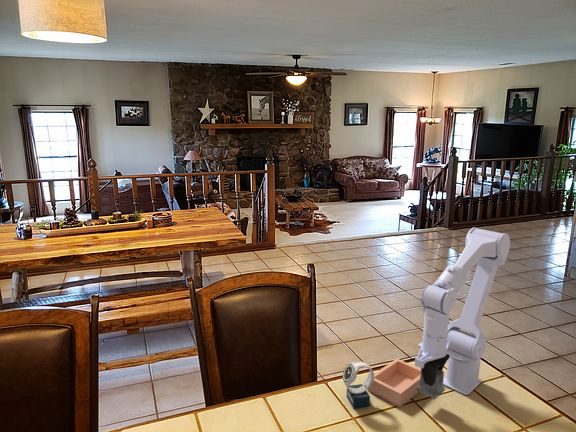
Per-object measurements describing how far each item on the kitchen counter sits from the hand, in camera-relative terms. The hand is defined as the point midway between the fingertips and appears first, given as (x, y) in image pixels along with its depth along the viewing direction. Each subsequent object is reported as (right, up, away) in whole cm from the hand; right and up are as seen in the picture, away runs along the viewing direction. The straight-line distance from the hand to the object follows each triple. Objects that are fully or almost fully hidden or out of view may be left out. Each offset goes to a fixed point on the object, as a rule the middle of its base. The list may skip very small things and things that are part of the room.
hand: (431, 381), depth 114 cm
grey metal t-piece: (0, -2, +1) cm, 2 cm away
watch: (-18, -7, +3) cm, 20 cm away
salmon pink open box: (-6, -5, +9) cm, 12 cm away
